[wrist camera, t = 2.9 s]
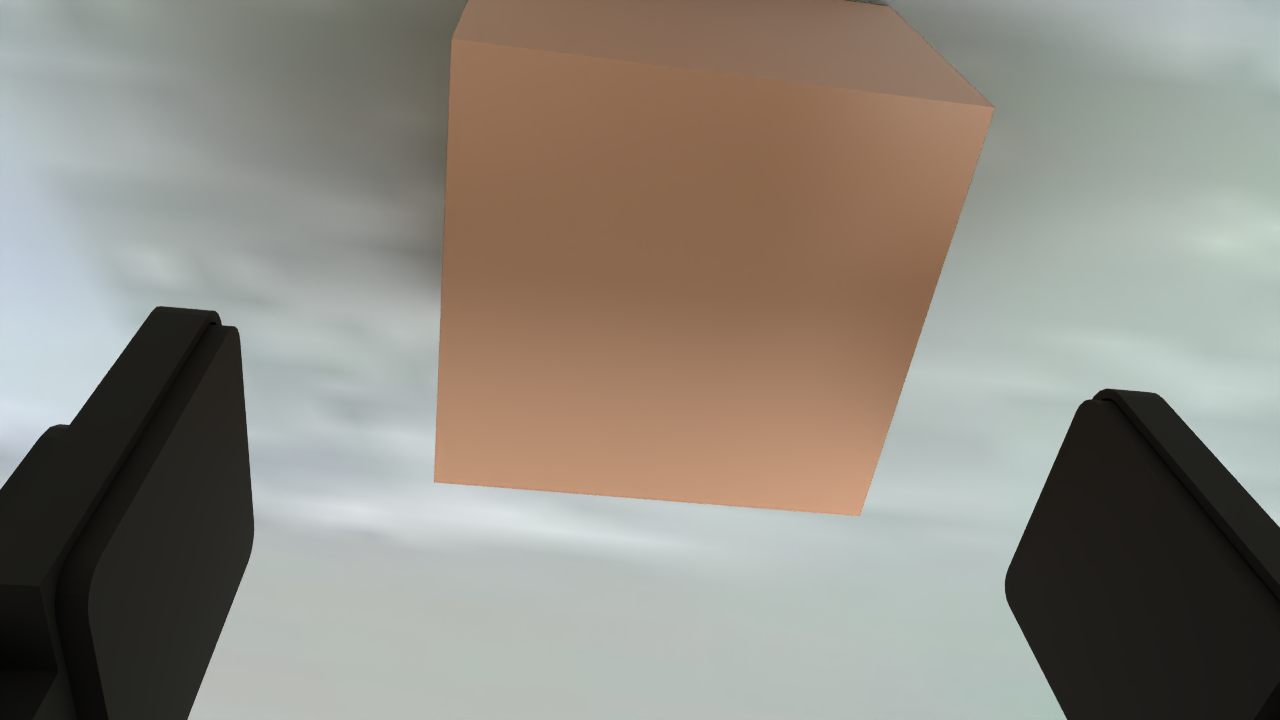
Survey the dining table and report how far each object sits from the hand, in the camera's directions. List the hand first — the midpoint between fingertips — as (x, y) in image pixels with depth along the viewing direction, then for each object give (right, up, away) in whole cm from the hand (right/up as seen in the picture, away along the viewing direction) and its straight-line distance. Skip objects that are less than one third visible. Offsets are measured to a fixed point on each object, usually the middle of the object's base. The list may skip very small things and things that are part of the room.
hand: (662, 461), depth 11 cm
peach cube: (0, +4, +6) cm, 8 cm away
